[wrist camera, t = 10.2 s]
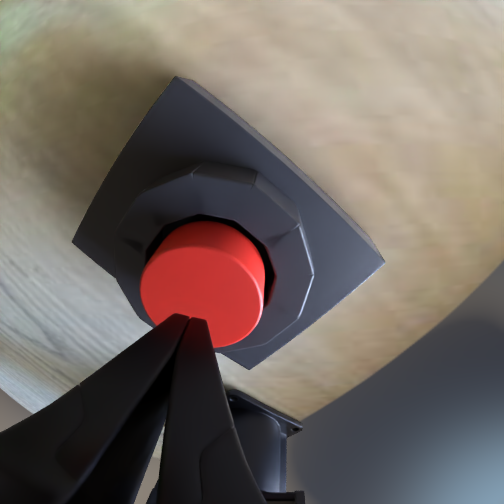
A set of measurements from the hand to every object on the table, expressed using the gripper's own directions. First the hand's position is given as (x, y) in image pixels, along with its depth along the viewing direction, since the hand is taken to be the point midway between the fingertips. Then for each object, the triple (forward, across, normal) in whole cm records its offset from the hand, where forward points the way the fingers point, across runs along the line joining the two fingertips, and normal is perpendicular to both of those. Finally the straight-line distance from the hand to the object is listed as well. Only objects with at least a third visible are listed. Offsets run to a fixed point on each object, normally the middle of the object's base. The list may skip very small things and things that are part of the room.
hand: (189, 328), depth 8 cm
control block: (+6, 0, 0) cm, 6 cm away
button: (+3, 0, 0) cm, 3 cm away
